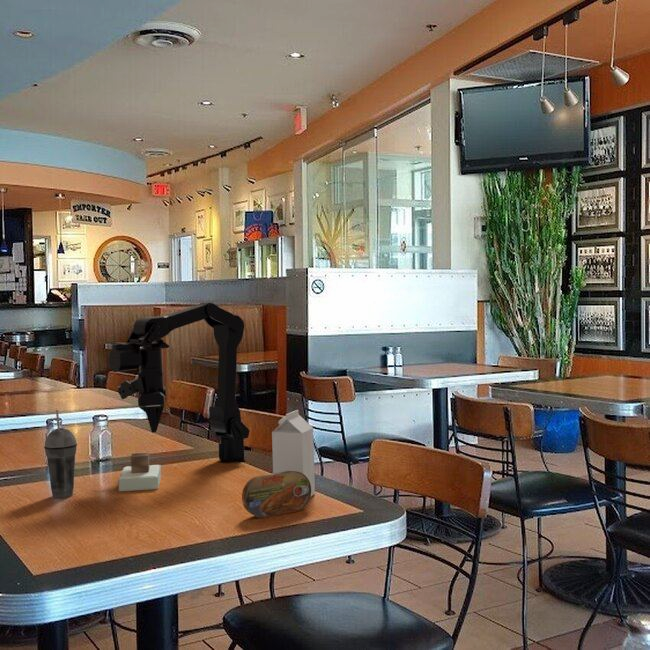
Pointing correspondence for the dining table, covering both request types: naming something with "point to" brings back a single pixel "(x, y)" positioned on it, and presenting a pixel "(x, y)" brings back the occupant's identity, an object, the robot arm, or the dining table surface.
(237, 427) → the robot arm
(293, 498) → the tin
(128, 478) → the plinth
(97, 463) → the dining table surface
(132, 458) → the walnut block
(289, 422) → the milk carton
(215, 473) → the dining table surface
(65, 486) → the beverage cup
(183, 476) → the dining table surface
